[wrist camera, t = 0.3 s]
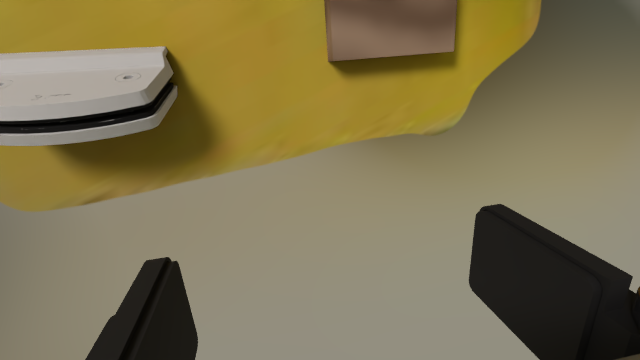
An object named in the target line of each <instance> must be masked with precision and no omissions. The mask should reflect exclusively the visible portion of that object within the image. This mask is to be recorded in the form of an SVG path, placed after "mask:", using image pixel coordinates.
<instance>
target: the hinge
mask: <svg viewBox="0 0 640 360" xmlns="http://www.w3.org/2000/svg"><path fill="white" fill-rule="evenodd" d="M167 52H168V51H167V49H166V47H143V48H121V49H98V50H76V51H54V52H31V53H9V54H0V145H8V146H41V145H58V144H70V143H79V142H87V141H93V140H100V139H107V138H113V137H118V136H123V135H128V134H132V133H137V132H141V131H145V130H149V129H153V128H155V127H157V126H158V125H159V124H160V123H161V121H162V120H163V118H164V116H165V115H166V113H167V112H168V110H169V109H170V107H171V106H172V104H173V102H174V101H175V99H176V98H177V86H173V83H168V82H169V81H170V80H171V76H172V75H173V74H174V73H173V71H172V69H171V67H170V65H169V63H168V60H167V58H166V54H167Z"/></svg>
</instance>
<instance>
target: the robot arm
mask: <svg viewBox="0 0 640 360" xmlns="http://www.w3.org/2000/svg"><path fill="white" fill-rule="evenodd" d="M474 228H475V229H474V237H473V246H472V255H471V265H470V275H469V284H470V287H471V289H472V291H473V292H474V293H475V294H476V295H477V296H478V297H479V298H480V299H481V300H482V301H483V302H484V303H485V304H486V305H487V306H488V307H489V308H490V309H491V310H492V311H493V312H494V313H495V314H496V315H497V316H498V317H499V319H501V320H502V322H504V323H505V325H506V326H507V327H508V328H509V329H510V330H511V331H512V332H513V333H514V334H515V335H516V336H517V337H518V338H519V339H520V340H521V341H522V342H523V343H524V344H525V345H526V346H527V347H528V348H529V349H530V350H531V351H532V352H533V353H534V354H535V355H536V356H537V357H538V358H539V359H540V360H640V287H639V288H638V290H637V293H634V292H633V291H631V290H629V287H630V284H631V280H632V276H631V275H629V274H628V273H626V272H624V271H622V270H620V269H618V268H617V267H615V266H613V265H611V264H609V263H608V262H606V261H604V260H602V259H600V258H598V257H597V256H595V255H593V254H591V253H589V252H588V251H586V250H584V249H582V248H580V247H578V246H577V245H575V244H573V243H571V242H569V241H568V240H566V239H564V238H562V237H560V236H559V235H557V234H555V233H553V232H551V231H550V230H548V229H546V228H544V227H542V226H540V225H539V224H537V223H535V222H533V221H531V220H530V219H528V218H526V217H524V216H522V215H521V214H519V213H517V212H515V211H513V210H511V209H510V208H508V207H506V206H504V205H502V204H497V205H491V206H485V207H482V208H481V209H480V211H479V212H478V213H477V214H476V219H475V227H474ZM197 346H198V337H197V332H196V328H195V324H194V320H193V317H192V313H191V309H190V305H189V301H188V298H187V294H186V290H185V286H184V282H183V279H182V275H181V271H180V267H179V264H178V262H177V261H173V262H172V261H171V259H170V258H169V257H165V258H159V259H153V260H147V261H146V262H145V263H144V264H143V266H142V268H141V270H140V272H139V273H138V275H137V277H136V279H135V280H134V282H133V284H132V286H131V287H130V289H129V291H128V293H127V295H126V296H125V298H124V300H123V302H122V303H121V305H120V307H119V309H118V311H117V312H116V314H115V315H114V316H112V317H111V318H110V319H109V320H108V322H107V323H106V325H105V327H104V328H103V330H102V332H101V334H100V335H99V337H98V339H97V341H96V342H95V344H94V346H93V348H92V349H91V351H90V353H89V354H88V356H87V358H86V359H85V360H195V357H196V352H197Z"/></svg>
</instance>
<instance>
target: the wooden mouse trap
mask: <svg viewBox="0 0 640 360" xmlns="http://www.w3.org/2000/svg"><path fill="white" fill-rule="evenodd" d="M324 1H325V17H326V34H327V50H328V61H341V60H353V59H366V58H378V57H391V56H403V55H416V54H428V53H441V52H453V51H454V42H455V26H456V11H457V0H324Z"/></svg>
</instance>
